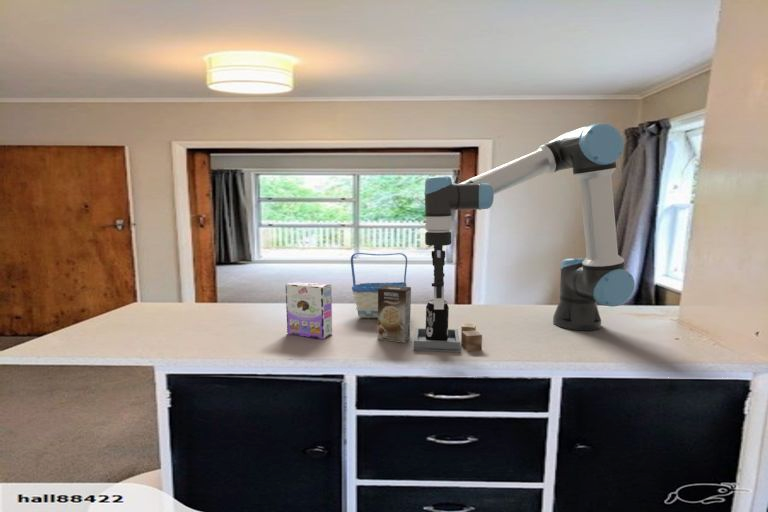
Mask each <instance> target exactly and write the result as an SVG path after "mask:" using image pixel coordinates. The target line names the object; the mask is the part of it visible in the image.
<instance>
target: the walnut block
mask: <svg viewBox="0 0 768 512" xmlns="http://www.w3.org/2000/svg"><path fill="white" fill-rule="evenodd" d="M461 331H462V330H461ZM482 344H483V334H481V333H480V332H479V331H478V330H476V331H462V339H461V341H460V347H462V348H463V349H464V350H465V351H466V352H472V351H473V352H474V351H483V349H482V347H483V345H482Z"/></svg>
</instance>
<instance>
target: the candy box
mask: <svg viewBox="0 0 768 512" xmlns="http://www.w3.org/2000/svg"><path fill="white" fill-rule="evenodd" d="M332 301H333V300H332V284H331V283H316V282H308V281H307V282H306V281H296V280H295V281H292V282H288V283H285V303H286V304H285V305H286V309H285V310H286V333H288V334H287V335H290V334H294V335H293V336H297V335H300V336H299V337H304V336H306V337H307V338H311V337H312V338H313V339H319V340H320V339H321V340H323V339H326V338H328V337H330V336H332V335H333V307H332V306H333V303H332ZM306 337H305V338H306Z"/></svg>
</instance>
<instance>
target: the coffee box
mask: <svg viewBox="0 0 768 512" xmlns="http://www.w3.org/2000/svg"><path fill="white" fill-rule="evenodd" d="M411 301H412V288H411V286H406V287H404V286H393V285H383V286H381V287H380V288H378V318H377V337H376V338H377V340H379V339H380V340H382V341H387V340H388V341H390V342H397V343H398V342H399V343H406V342H407V341H408V339H409V338H410V337H411V313H412V312H411Z"/></svg>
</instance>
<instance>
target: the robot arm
mask: <svg viewBox="0 0 768 512" xmlns="http://www.w3.org/2000/svg"><path fill="white" fill-rule="evenodd" d="M623 139H624V138H623V137H622V134H621V132H620V131H619V130H618V129H617V128H615V127H614V126H613V125H612V124H608V123H605V122H604V123H603V122H602V123H595V124H594V123H592V124H588V125H586V126H583V127H579V128H577V129H573V130H570V131H566V132H565V133H563V134H561V135H559V136H558V137H556V138H553V139H552V140H551V141H548V142H546V143H544V144H542V145H540V146H539V147H538V148H537V150H535V151H533V152H531V153H528V154H526V155H523V156H521V157H519V158H516V159H514V160H511V161H509V162H507V163H504V164H502V165H500V166H497V167H496V168H493V169H490V170H489V171H486V172H483V173H481V174H479V175H477V176H473V177H471V178H468V179H467V180H464V181H462V182H460V183H454V182H453V181H452V177H451V176H430V177H427V178H426V179H425V183H424V212H425V214H424V215H425V217H424V218H425V219H423V220H422V222H423V224H425V225H424V226H425V227H424V228H425V230H426V232H425V233H424V237H425V238H424V239H425V241H424V242H425V243H424V244H425V245H426V246H431V247H432V246H433V250H431V259H432V267H433V276H434V277H433V283H431V287H433V300H434V309H444V299H445V297H444V296H445V293H444V292H445V290H444V289H445V288H444V287H445V286H444V285H445V281H444V277H445V273H444V267H445V264H446V261H445V260H446V250H443V246H451V245H452V232H451V230H452V228H453V226H452V225H453V223H452V222H453V221H452V218H453V217H452V211H455V210H456V211H460V210H461V211H464V210H465V211H467V210H470V211H471V210H475V211H476V210H479V211H481V210H488V209H490V208H491V207H492V206H493V203H494V198H495V197H494V195H496V194H498V193H501V192H503V191H506V190H508V189H509V188H512V187H515V186H517V185H519V184H522V183H525V182H526V181H529V180H532V179H535V178H536V177H538V176H541V175H543V174H545V173H547V174H550V175H552V174H553V173H556V172H559V171H562V170H568V169H572V173H573V174H572V175H573V176H574V177H575V178H577V179H578V180H579V187H580V189H579V190H580V198H581V199H580V200H581V201H580V202H581V209H582V210H581V211H582V221H583V228H584V229H583V231H584V240H585V252H586V257H585V258H580V257H579V258H565V259H563V260H562V261H561V267H560V281H559V282H560V284H559V285H560V286H559V289H560V290H559V302H558V304H557V305H556V309H555V311H554V313H553V317H552V323H553V324H554V325H555V326H557V327H560V328H564V329H568V330H574V331H583V332H584V331H585V332H586V331H597V330H599V329H601V328H602V319H601V315H600V311H599V307H598V305H600V306H607V307H611V308H612V307H617V306H621V305H623V304H625V303H626V302H627V301H628V300H629V298H631V297H632V295H633V293H634V291H635V286H636V284H635V283H636V282H635V279H634V277H633V275H632V274H631V273H630V272H629V271H628V270H626V267H625V259H624V258H623V257H622V256H621V255H619V254H618V253H619V252H618V251H619V250H618V239H617V238H618V237H617V228H616V217H615V206H614V205H615V203H614V193H613V192H614V191H613V183H612V182H613V180H612V175H613V173H614V172H615V171H616V170H617V160H618V159H619V158H620V156H621V155H622V153H623V152H624V151H623V150H624V140H623Z"/></svg>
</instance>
